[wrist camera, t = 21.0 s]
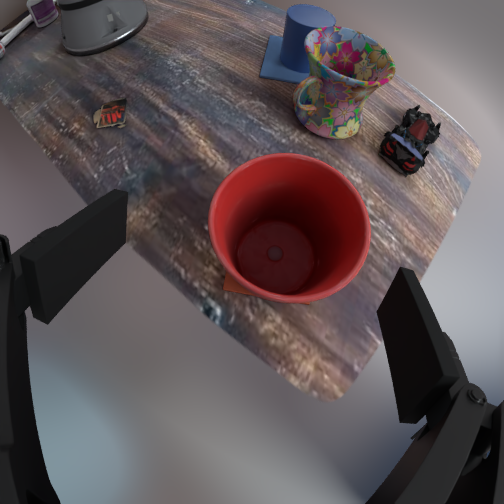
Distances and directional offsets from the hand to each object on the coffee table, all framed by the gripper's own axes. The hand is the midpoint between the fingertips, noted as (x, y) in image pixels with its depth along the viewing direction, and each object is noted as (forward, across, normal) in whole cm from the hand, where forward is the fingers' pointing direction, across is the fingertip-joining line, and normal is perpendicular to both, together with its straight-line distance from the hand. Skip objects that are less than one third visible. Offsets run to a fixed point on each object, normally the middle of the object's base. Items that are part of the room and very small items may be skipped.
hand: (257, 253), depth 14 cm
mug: (+27, +3, +5) cm, 27 cm away
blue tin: (+34, -1, +12) cm, 36 cm away
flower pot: (+14, +2, -8) cm, 16 cm away
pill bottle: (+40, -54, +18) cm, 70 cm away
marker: (+40, -60, +19) cm, 75 cm away
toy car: (+28, +15, +6) cm, 32 cm away
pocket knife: (+37, -70, +16) cm, 81 cm away
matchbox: (+22, -22, +1) cm, 31 cm away
